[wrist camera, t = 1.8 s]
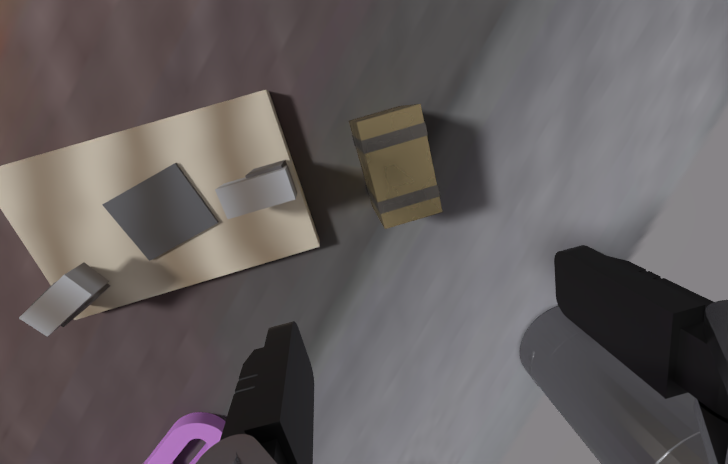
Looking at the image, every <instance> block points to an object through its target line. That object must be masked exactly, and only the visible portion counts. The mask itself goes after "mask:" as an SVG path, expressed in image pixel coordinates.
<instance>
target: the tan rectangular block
mask: <svg viewBox="0 0 728 464" xmlns="http://www.w3.org/2000/svg"><path fill="white" fill-rule="evenodd" d="M349 123H350V127H351V131H352V134H353V135H352V137H353V141H354V144H355V146H356V149H357V153H358V156H359V160H360V163H361V167H362V171H363V174H364V178H365V182H366V188H367V191H368V195H369V196H370V200H371V204H372V207H373V209H374V210H375V212H376V214H377V216H378V218H379V219H380V221H381V223H382V225H383V226H384V228H385V229H387V228H390V227H393V226H397V225H400V224H404V223H407V222H410V221H414V220H417V219H420V218H424V217H427V216H430V215H434V214H437V213H440V212H442V207H441V202H440V193H439V188H438V184H437V183H436V178H435V173H434V168H433V163H432V158H431V153H430V148H429V143H428V138H427V135H428V133H427V128H426V123H425V122H424V119H423V114H422V109H421V104H414V105H405V106H398V107H395V108H391V109H388V110H384V111H381V112H377V113H374V114H371V115H367V116H364V117H360V118H357V119H353V120H350V121H349Z"/></svg>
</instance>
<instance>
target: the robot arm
mask: <svg viewBox="0 0 728 464" xmlns="http://www.w3.org/2000/svg"><path fill="white" fill-rule="evenodd" d="M554 262H555V284H556V299H557V303H558V305H559V306H557V307H554V308H552V309H550V310H548V311H546V312H545V313H543V314H542V315H541V316H539V317H538V318H537V319H536V320H535V321H534V322H533V323H532V324H531V325H530V326H529V328H528V329H527V331H526V332H525V334H524V336H523V339H522V341H521V346H520V359H521V362H522V365H523V366H524V368H525V370H526V371H527V372H528V373H529V375H530V376H531V377H532V379H533V380H534V381H535V383H536V384H537V385H538V386H539V387H540V388H541V390H542V391H543V392H544V393H545V395H546V396H547V397H548V398H549V400H550V401H551V402H552V403H553V405H554V406H555V407H556V408H557V410H558V411H559V412H560V413H561V415H562V416H563V417H564V418H565V420H566V421H567V422H568V423H569V425H570V426H571V427H572V428H573V429H574V431H575V432H576V433H577V434H578V436H579V437H580V438H581V439H582V441H583V442H584V443H585V444H586V446H587V447H588V448H589V449H590V451H591V452H592V453H593V454H594V455H595V457H596V458H597V459H598V460H599V462H600V463H601V464H728V300H722V301H717V302H713V301H711V300H708V299H707V298H704V297H702V296H700V295H698V294H696V293H694V292H692V291H689V290H688V289H686V288H683V287H681V286H679V285H677V284H675V283H673V282H671V281H669V280H667V279H664V278H663V279H661V278H660V276H658V275H656V274H654V273H652V272H650V271H648V272H647V271H646V269H644V268H641V267H639V266H637V265H635V264H633V263H631V262H629V261H625V260H621V259H617V258H613V257H609V256H606V255H604V254H602V253H600V252H598V251H596V250H594V249H592V248H590V247H588V246H584V245H582V246H578V247H574V248H571V249H567V250H563V251H559V252H557V253H556V255H555V260H554ZM313 418H314V377H313V371H312V367H311V363H310V360H309V357H308V354H307V352H306V349H305V346H304V343H303V340H302V337H301V334H300V331H299V329H298V326H297V324H296V322H294V321H293V322H290V323H286V324H282V325H278V326H275V327H271V328H269V330H268V333H267V337H266V342H265V346H264V347H263V348H259V349H256V350H254V351H253V352H252V353H251V355H250V356H249V357H248V359H247V360H246V361H245V363H244V364H243V367H242V370H241V373H240V376H239V381H238V383H237V386H236V389H235V394H234V396H233V399H232V403H231V406H230V409H229V412H228V416H227V419H226V422H225V425H224V429H223V432H222V435H221V438H220V441H219V442H217V443H216V444H214V445H213V446H212V447H210V448H209V449H208V450H207V451H206V452H205V453H204V454H203V455H202V456H201V457H200V458H199V460H198V461H197V462H196V464H313Z"/></svg>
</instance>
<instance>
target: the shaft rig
mask: <svg viewBox="0 0 728 464" xmlns="http://www.w3.org/2000/svg"><path fill="white" fill-rule="evenodd" d="M0 209H1V210H2V212H3V213H4V215H5V216H6V218H7V219H8V221H9V222H10V224H11V225H12V227H13V228H14V230H15V231H16V233H17V234H18V236H19V237H20V239H21V240H22V242H23V243H24V245H25V246H26V248H27V250H28V251H29V253H30V254H31V256H32V257H33V259H34V260H35V262H36V263H37V265H38V266H39V268H40V269H41V271H42V272H43V274H44V275H45V277H46V278H47V280H48V281H49V283H50V284H51V286H50V287H49V288H48V289H47V290H46V291H45V292H44V293H43V294H42V295H41V296H40V297H39V298H38V299H37V300H36V301H35V302H34V303H33V304H32V305H31V307H30V308H29V309H28V310H27V311H26V312H25V313H24V314H22V315H21V316H20V317H19V319H21V320H22V321H24V322H26V323H27V324H29V325H30V326H32V327H33V328H35V329H36V330H38V331H39V332H41V333H42V334H44V335H45V336H49V335H50V334H51V333H52V332H54V331H55V330H56V329H57V328H59V327H60V326H62V327H64V326H65V325H67V324H68V323H69V322H70V321H71V320H73V319H74V320H76V319H80V318H83V317H86V316H90V315H93V314H96V313H100V312H103V311H106V310H110V309H113V308H116V307H120V306H123V305H127V304H130V303H133V302H137V301H140V300H143V299H147V298H150V297H153V296H157V295H160V294H163V293H167V292H170V291H173V290H177V289H180V288H183V287H187V286H190V285H193V284H197V283H200V282H203V281H207V280H210V279H213V278H217V277H220V276H223V275H227V274H230V273H233V272H237V271H240V270H243V269H247V268H250V267H253V266H257V265H260V264H264V263H267V262H270V261H274V260H277V259H280V258H284V257H287V256H290V255H294V254H297V253H300V252H304V251H307V250H310V249H314V248H317V247H320V240H319V237H318V234H317V231H316V228H315V225H314V222H313V219H312V216H311V213H310V211H309V208H308V205H307V202H306V199H305V196H304V193H303V190H302V187H301V184H300V181H299V178H298V175H297V172H296V169H295V166H294V164H293V161H292V158H291V155H290V152H289V149H288V146H287V143H286V140H285V137H284V134H283V131H282V128H281V125H280V122H279V119H278V117H277V114H276V111H275V108H274V105H273V102H272V99H271V96H270V93H269V91H268V90H263V91H260V92H256V93H253V94H249V95H246V96H242V97H239V98H235V99H232V100H228V101H225V102H221V103H218V104H214V105H211V106H207V107H204V108H200V109H197V110H194V111H190V112H187V113H183V114H180V115H176V116H173V117H169V118H166V119H162V120H159V121H155V122H152V123H148V124H145V125H141V126H138V127H134V128H131V129H127V130H124V131H121V132H117V133H114V134H110V135H107V136H103V137H100V138H96V139H93V140H89V141H86V142H82V143H79V144H75V145H72V146H68V147H65V148H61V149H58V150H54V151H51V152H47V153H44V154H41V155H37V156H34V157H30V158H27V159H23V160H20V161H16V162H13V163H9V164H6V165H2V166H0Z"/></svg>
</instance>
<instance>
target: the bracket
mask: <svg viewBox="0 0 728 464" xmlns="http://www.w3.org/2000/svg"><path fill="white" fill-rule="evenodd" d="M224 425H225V421H224V420H223V419H222V418H220V417H218V416H216V415H214V414H210V413H204V412H197V413H191V414H188V415H185V416H183V417H181V418H180V419H179V420H178V421H176V423H175V424H174V425H173V426H172V428H171V429H170V430H169V431H168V433H167V434H166V435H165V437H164V438H163V439H162V440H161V442H160V443H159V444H158V446H157V447H156V448H155V449H154V451H153V452H152V453H151V455H150V456H149V457H148V458H147V460H146V461H145V462H144V464H173V461H174V459H175V458H176V457H177V456H178V454H179V453H180V452H181V451H182V449H183V448H184V447H185V446H186V444H187V443H188V442H189V441H190V440H192V439H202V440H204V441H205V442H206V444H205V445H204V447H203V448H202V449H201V450H200V451H199V453H198V454H197V455H196V456H195V458H194V459H193V460H192V461H191V463H190V464H196V462H197V461H198V460H199V458H200V457H201V456H202V455H203V454H204V453H205V452H206V451H207V450H208V449H209V448H210V447H212V446H213V445H214V444H216V443H217V442H219V441H220V438H221V435H222V432H223V429H224Z"/></svg>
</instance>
